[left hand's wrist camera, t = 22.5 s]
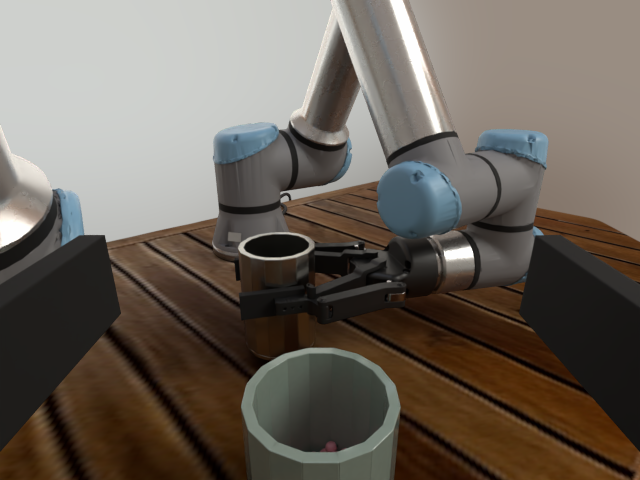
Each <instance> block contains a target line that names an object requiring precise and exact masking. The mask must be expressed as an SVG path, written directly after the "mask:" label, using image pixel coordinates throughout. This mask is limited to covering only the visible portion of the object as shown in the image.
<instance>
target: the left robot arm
mask: <svg viewBox="0 0 640 480" xmlns="http://www.w3.org/2000/svg"><path fill="white" fill-rule="evenodd" d="M120 314H121V312H120V307H119V302H118V297H117V292H116V288H115V283H114V278H113V273H112V268H111V263H110V259H109V254H108V249H107V244H106V240H105V235H84V229H83V221H82V213H81V207H80V201H79V197H78V196H77V194H76V193H75V192H72V191H66V190H61V189H52V188H51V185H50V183H49V181H48V179H47V177H46V176H45V174H44V172H42V171H41V170H40V169H39V168H38V167H37V166H36V165H34V164H33V163H31V162H30V161H28V160H26V159H24V158H22V157H19V156H17V155H14V154H11V151H10V149H9V146H8V143H7V141H6V138H5V136H4V133H3V130H2V128H1V125H0V451H1V450H2V449H3V448H4V447H5V446H6V445H7V443H8V442H9V441H10V440H11V439H12V438H13V436H14V435H15V434H16V433H17V432H18V431H19V430H20V428H21V427H22V426H23V425H24V424H25V423H26V422H27V420H28V419H29V418H30V417H31V416H32V415H33V414H34V412H35V411H36V410H37V409H38V408H39V407H40V406H41V404H42V403H43V402H44V401H45V400H46V399H47V398H48V396H49V395H50V394H51V393H52V392H53V391H54V390H55V388H56V387H57V386H58V385H59V384H60V383H61V382H62V380H63V379H64V378H65V377H66V376H67V375H68V374H69V372H70V371H71V370H72V369H73V368H74V367H75V366H76V364H77V363H78V362H79V361H80V360H81V359H82V358H83V356H84V355H85V354H86V353H87V352H88V351H89V350H90V348H91V347H92V346H93V345H94V344H95V343H96V342H97V340H98V339H99V338H100V337H101V336H102V335H103V333H104V332H105V331H106V330H107V329H108V328H109V327H110V325H111V324H112V323H113V322H114V321H115V320H116V319H117V317H118V316H119V315H120ZM519 314H520V315H521V316H522V317H523V319H524V320H525V321H526V322H527V323H528V324H529V325H530V327H531V328H532V329H533V330H534V331H535V332H536V333H537V335H538V336H539V337H540V338H541V339H542V340H543V342H544V343H545V344H546V345H547V346H548V347H549V348H550V350H551V351H552V352H553V353H554V354H555V355H556V356H557V358H558V359H559V360H560V361H561V362H562V363H563V364H564V366H565V367H566V368H567V369H568V370H569V371H570V372H571V374H572V375H573V376H574V377H575V378H576V379H577V380H578V382H579V383H580V384H581V385H582V386H583V387H584V388H585V390H586V391H587V392H588V393H589V394H590V395H591V396H592V398H593V399H594V400H595V401H596V402H597V403H598V404H599V406H600V407H601V408H602V409H603V410H604V411H605V412H606V414H607V415H608V416H609V417H610V418H611V419H612V420H613V422H614V423H615V424H616V425H617V426H618V427H619V428H620V430H621V431H622V432H623V433H624V434H625V435H626V436H627V438H628V439H629V440H630V441H631V442H632V443H633V445H634V446H635V447H636V448H637V449H638V450H639V451H640V284H638V283H637V282H635V281H633V280H632V279H630V278H629V277H627V276H625V275H624V274H622V273H621V272H619V271H617V270H616V269H614V268H612V267H611V266H609V265H608V264H606V263H604V262H603V261H601V260H600V259H598V258H596V257H595V256H593V255H592V254H590V253H588V252H587V251H585V250H584V249H582V248H580V247H579V246H577V245H575V244H574V243H572V242H571V241H569V240H567V239H566V238H564V237H563V236H561V235H535V239H534V244H533V249H532V254H531V259H530V263H529V268H528V273H527V278H526V283H525V288H524V292H523V297H522V302H521V307H520V312H519Z"/></svg>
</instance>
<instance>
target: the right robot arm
mask: <svg viewBox="0 0 640 480" xmlns="http://www.w3.org/2000/svg"><path fill="white" fill-rule="evenodd" d="M331 3H332V6H333V8H332V12H331V15H330V18H329V21H328V25H327V28H326V31H325V35H324V38H323V41H322V44H321V48H320V51H319V54H318V57H317V61H316V64H315V67H314V71H313V74H312V77H311V80H310V84H309V87H308V90H307V94H306V97H305V100H304V103H303V107H302V108H300V109H298V110H296V111H294V112H293V113H292V115H291V118H290V121H289V125H288V128H287V129H284V130H279V129H278V127H277V125H276V124H274V123H255V124H245V125H239V126H234V127H230V128H227V129H224V130H222V131H220V132H218V133H217V134H216V136H215V137H214V141H213V144H214V156H213V161H214V164H215V173H216V183H217V193H218V202H219V216H218V220H217V224H216V228H215V232H214V237H213V241H212V243H213V252H214V253H215V255H216V256H218V257H220V258H222V259H225V260H228V261H234V262H235V272H236V281H239V280H241V279H240V267H239V255H238V247H239V245H240V243H241V242H242V241H244V240H246V239H247V238H249V237H252V236H256V235H259V234H265V233H272V232H289V230H288V227H287V224H286V222H285V219H284V216H283V215H284V214H285V213H286V211H287V207H286V205H284V204H283V203H280V199H281V198H282V197H283V196H285V195H287V196H288V198H289V201H290V200H291V196H290V194H289V193H283V194H281V195H280V192H281V191H287V190H294V189H301V188H307V187H314V186H323V185H326V184H328V183H332V182H335V181H337V180H339V179H340V178H341V177H342V176H343V175H344V174H345V173H346V171H347V170H348V168H349V165H350V162H351V158H352V154H351V153H350V150H351V149H352V146H351V141H350V139H349V131H348V129H347V127H346V125H345V124H346V121H347V119H348V116H349V114H350V111H351V109H352V107H353V104H354V102H355V99H356V97H357V94H358V92H359V89H360V87H361V89H362V92H363V95H364V97H365V100H366V103H367V106H368V109H369V112H370V115H371V118H372V120H373V123H374V126H375V129H376V132H377V135H378V137H379V140H380V143H381V146H382V149H383V152H384V154H385V157H386V162H387V164H388V168H389V169H388V170H387V171H386V172H385V173H384V174H383V176H382V177H381V179H380V182H379V184H378V187H377V193H378V202H377V207H378V211H379V214H380V216H381V218H382V220H383V221H384V223H385V224H386V226H387V227H388V228H389V229H390V230H391V231H392V232H393V233H395V234H396V235H398V237H394V238H393V239H391V241H390V242H389V243H388V246H387V247H386V248H385V249H384V250H375V249H365V242H364V241H354V242H348V243H315V273H327V274H339V275H341V276H342V277H341V278H338V279H335V280H333V281H330V282H327V283H325V284H322V285H319V286H317V287H314V286H313V285H312V284H310V285H309V283H308V284H307V285H306V286H307V294H305V288H304V286H303V285H301V286H293V287H284V288H276V289H268V290H259V291H251V292H242V293H239V298H240V310H241V320H248V319H255V318H263V317H270V316H278V315H279V316H283V315H287V314H288V315H290V314H298V313H306V312H307V314H308V315H312V316H313V315H315V316H316V317H317V322H318V323H320V324H328V323H331V322H335V321H339V320H343V319H346V318H350V317H354V316H358V315H362V314H365V313H369V312H373V311H377V310H380V309H384V308H401V307H404V306H405V298H413V297H420V296H427V295H429V294H431V293H432V294H439V293H442V294H445V293H446V292H453V291H460V290H470V289H478V288H486V287H494V286H509V285H513V284H517V283H522V282H526V278H527V273H528V268H529V263H530V259H531V254H532V249H533V244H534V239H535V235H543V233H542V232H541V231H540V230H539V229H537V228H536V227H534V226H533V223H534V218H535V213H536V208H537V203H538V199H539V194H540V190H541V185H542V180H543V175H544V171H545V169H546V167H547V165H546V157H547V149H548V139H547V137H546V136H545V135H544V134H543V133H540V132H536V131H529V130H513V129H495V130H487V131H485V132H483V133H482V134H481V135H480V137H479V140H478V144H477V147H476V148H475V152H474V153H468V154H465V153H464V150H463V148H462V145H461V142H460V140H459V138H458V135H457V132H456V130H455V127H454V124H453V121H452V119H451V116H450V113H449V110H448V107H447V105H446V102H445V99H444V96H443V94H442V91H441V88H440V85H439V83H438V80H437V77H436V74H435V72H434V69H433V66H432V63H431V61H430V58H429V55H428V52H427V49H426V47H425V44H424V41H423V39H422V36H421V33H420V30H419V27H418V25H417V22H416V19H415V16H414V14H413V11H412V8H411V5H410V2H409V0H331ZM281 206H282V207H284V210H283V212H282V211H281ZM464 225H467V229H466V230H460V231H451V230H453V229H456V228H459V227H462V226H464ZM348 263H350V265H349V269H348ZM331 308H332V311H331V312H329V309H331Z"/></svg>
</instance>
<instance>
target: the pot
mask: <svg viewBox="0 0 640 480" xmlns="http://www.w3.org/2000/svg"><path fill="white" fill-rule="evenodd" d="M400 407H401V406H400V402H399V398H398V394H397V390H396V386H395V385H394V383H393V382H392V381H391V379H390V378H389V377H388V376H387V375H386V373H385V372H384V371H383V370H382V369H381V368H380V367H379V366H378V365H376V364H374V363H373V362H371V361H369V360H368V359H366V358H364V357H362V356H361V355H358V354H356V353H352V352H348V351H344V350H340V349H336V348H305V349H301V350H297V351H293V352H289V353H285V354H283V355H281V356H279V357H277V358H275V359H274V360H272V361H270V362H269V363H267V364H265V365H263V366H262V367H261V368H260V369H259V370H258V371H257V372H256V374H255V375H254V376H253V377H252V378H251V379H250V381H249V382H248V383H247V385H246V388H245V392H244V396H243V400H242V404H241V415H242V425H243V436H244V447H245V458H246V469H247V480H394V472H395V461H396V450H397V439H398V429H399V418H400ZM329 441H333V442H335V443H336V445H337V450H336V451H338V452H320V451H321V450H322V449H323V448H325V446H326V443H327V442H329ZM343 448H346V449H344V450H342V449H343Z"/></svg>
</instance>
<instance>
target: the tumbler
mask: <svg viewBox="0 0 640 480" xmlns="http://www.w3.org/2000/svg"><path fill="white" fill-rule="evenodd" d="M238 255H239V267H240V279H241V291H242V292H251V291H259V290H268V289H276V288H284V287H293V286H301V285H303V286H304V288H305V294H307V286H306V285H307V284H308V283H309V285H310V284H312V285H313V286H314V287H315V242H314V241H313V240H312V239H310V238H309V237H307V236H304V235H301V234H296V233H289V232H272V233H265V234H259V235H256V236H252V237H249V238H247V239H246V240H244V241H242V242H241V243H240V245H239V247H238ZM244 327H245V339H246V344H247V348H248V350H249V351H250V352H251V353H252V354H253V355H255V356H256V357H258V358H261V359H264V360H268V361H272V360H274V359H275V358H277V357H279V356H281V355H283V354H285V353H289V352H293V351H297V350H301V349H305V348H312V347H313V346H314V344H315V333H316V328H315V315H313V316H312V315H308V314H307V312H306V313H298V314H290V315H288V314H287V315H283V316H279V315H278V316H270V317H263V318H255V319H248V320H244Z"/></svg>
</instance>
